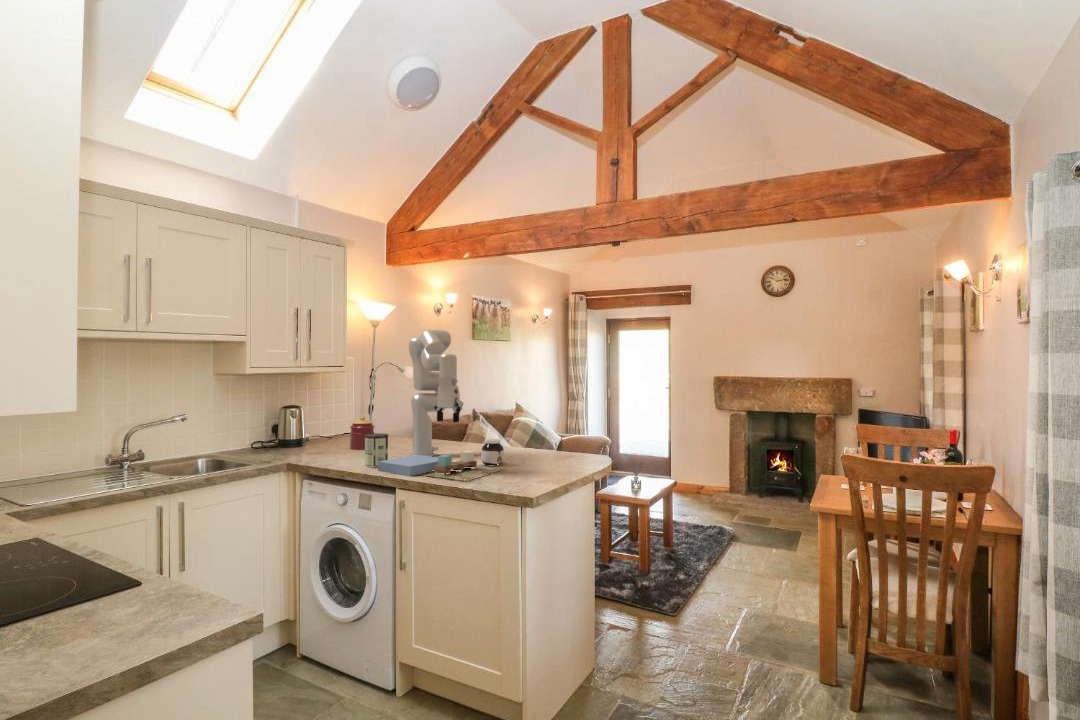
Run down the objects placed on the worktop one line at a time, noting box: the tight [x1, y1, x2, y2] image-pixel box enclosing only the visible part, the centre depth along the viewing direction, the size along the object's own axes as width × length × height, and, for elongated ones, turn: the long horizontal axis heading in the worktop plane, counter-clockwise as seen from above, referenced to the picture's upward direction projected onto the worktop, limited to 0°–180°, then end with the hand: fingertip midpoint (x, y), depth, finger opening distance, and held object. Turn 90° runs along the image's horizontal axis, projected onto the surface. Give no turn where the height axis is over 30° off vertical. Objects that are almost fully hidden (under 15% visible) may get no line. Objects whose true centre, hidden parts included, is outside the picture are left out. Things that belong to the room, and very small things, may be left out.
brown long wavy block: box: [434, 460, 478, 474], centre depth 244 cm, size 20×6×4 cm, turn 145°
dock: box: [377, 455, 438, 477], centre depth 247 cm, size 24×20×4 cm
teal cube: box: [437, 454, 453, 466], centre depth 238 cm, size 4×4×4 cm
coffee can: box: [364, 433, 389, 468], centre depth 256 cm, size 10×10×14 cm
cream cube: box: [460, 450, 475, 462], centre depth 250 cm, size 4×4×4 cm
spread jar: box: [480, 438, 505, 466], centre depth 262 cm, size 12×11×12 cm
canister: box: [349, 415, 376, 450], centre depth 311 cm, size 13×13×18 cm
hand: (447, 421), depth 246 cm, fingers open, 9 cm apart
